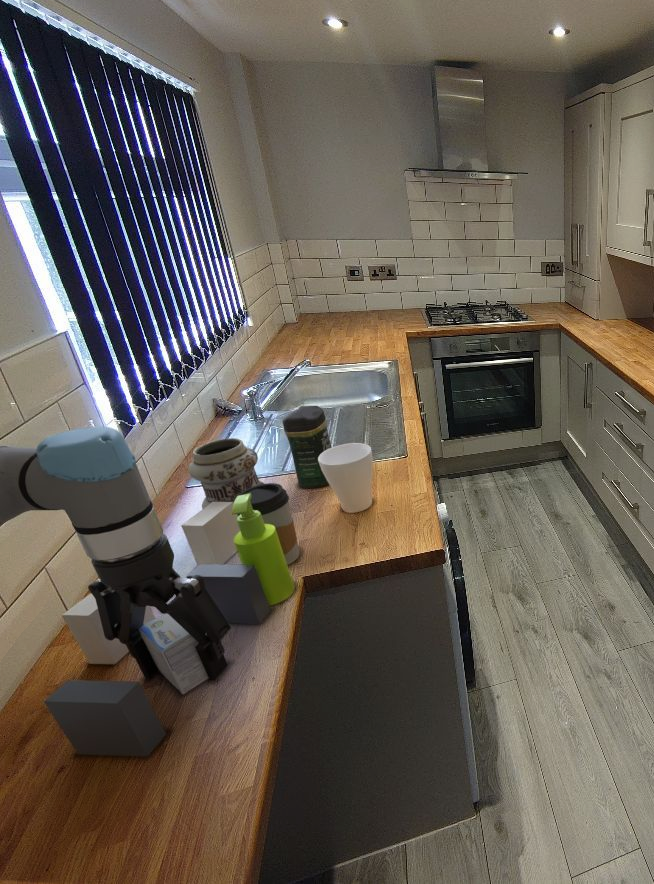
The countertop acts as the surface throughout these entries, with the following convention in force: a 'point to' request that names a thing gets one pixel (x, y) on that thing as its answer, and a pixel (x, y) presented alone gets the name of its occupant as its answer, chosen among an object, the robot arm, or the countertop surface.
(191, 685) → the medicine box
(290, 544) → the coffee cup
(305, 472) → the coffee jar
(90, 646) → the white rectangular block
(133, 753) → the grey block near
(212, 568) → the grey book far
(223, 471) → the apothecary jar
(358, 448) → the cup
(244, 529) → the soap dispenser
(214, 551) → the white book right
